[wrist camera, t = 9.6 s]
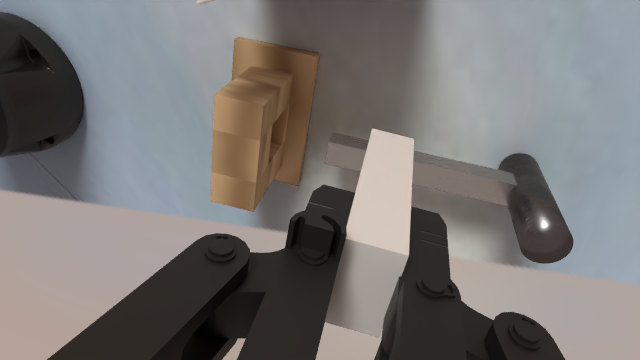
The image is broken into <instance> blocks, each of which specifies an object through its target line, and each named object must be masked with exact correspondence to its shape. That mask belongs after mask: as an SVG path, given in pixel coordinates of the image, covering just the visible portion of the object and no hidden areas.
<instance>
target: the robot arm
mask: <svg viewBox="0 0 640 360" xmlns="http://www.w3.org/2000/svg"><path fill="white" fill-rule="evenodd" d="M82 111H83V99H82V92H81V87H80V84H79V81H78V78H77V75H76V73H75V71H74V69H73V67H72V65H71V63H70V62H69V60H68V58H67V57H66V55H65V54H64V52H63V51H62V50H61V49H60V47H59V46H58V45H57V44H56V43H55V42H54V41H53V40H52V39H51V38H50V37H49V36H48V35H47V34H46V33H45V32H44V31H42V30H41V29H40V28H38V27H37V26H35V25H34V24H32V23H31V22H29V21H27V20H25V19H23V18H21V17H19V16H16V15H13V14H9V13H4V12H0V157H5V156H11V155H18V154H25V153H32V152H38V151H43V150H46V149H49V148H52V147H54V146H55V145H57V144H59V143H61V142H62V141H64V140H66V139H67V138H69V137H70V136H71V135H72V134H73V133H74V132H75V130H76V129H77V127H78V125H79V123H80V120H81V117H82ZM413 154H414V139H412V138H408V137H405V136H401V135H397V134H393V133H389V132H385V131H381V130H377V129H373V128H372V131H371V135H370V138H369V142H368V146H367V150H366V154H365V157H364V161H363V165H362V169H361V172H360V176H359V180H358V184H357V188H356V191H355V193H353V192H350V191H346V190H342V189H338V188H334V187H331V186H327V185H322V186H321V187H319V188H317V189H316V190H314V191H313V193H312V195H311V198H310V200H309V203H308V205H307V207H306V210H305V211H302V212H299V213H297V214H295V215H294V216H293V217H292V218H291V219H290V224H289V229H288V235H287V240H286V246H285V248H284V249H282V250H279V251H276V252H271V253H252V252H250V249H249V248H248V246H247V244H246V243H245V242H244V241H242V240H241V239H239V238H238V237H235V236H232V235H229V234H211V235H206V236H204V237H202V238H200V239H198V240H197V241H195V242H194V243H193V244H192V245H190V246H189V247H188V248H186V249H185V250H184V251H183V252H182V253H180V254H179V255H178V256H177V257H175V258H174V259H173V260H171V261H170V262H169V263H168V264H166V265H165V266H164V267H163V268H161V269H160V270H159V271H158V272H156V273H155V274H154V275H153V276H151V277H150V278H149V279H148V280H146V281H145V282H144V283H143V284H141V285H140V286H139V287H138V288H136V289H135V290H134V291H133V292H131V293H130V294H129V295H128V296H126V297H125V298H124V299H123V300H121V301H120V302H119V303H118V304H116V305H115V306H114V307H113V308H111V309H110V310H109V311H107V312H106V313H105V314H104V315H103V316H101V317H100V318H99V319H97V320H96V321H95V322H94V323H92V324H91V325H90V326H89V327H87V328H86V329H85V330H84V331H82V332H81V333H80V334H79V335H77V336H76V337H75V338H74V339H72V340H71V341H70V342H69V343H68V344H66V345H65V346H64V347H62V348H61V349H60V350H59V351H57V352H56V353H55V354H54V355H52V356H51V357H50V358H48V359H47V360H222V359H223V357H224V356H225V355H226V354H227V353H228V352H229V350H230V349H231V348H232V347H233V345H234V344H235V343H236V341H237V339H238V338H246V340H245V342H244V345H243V347H242V349H241V351H240V354H239V356H238V358H237V360H315V359H316V355H317V351H318V347H319V343H320V339H321V335H322V331H323V327H324V323H325V322H327V323H330V324H334V325H337V326H340V327H344V328H347V329H351V330H354V331H358V332H361V333H365V334H368V335H372V336H375V337H379V336H380V333H381V330H382V327H383V331H382V341H381V343H380V346H379V349H378V351H377V354H376V357H375V359H374V360H565V358H564V357H563V355H562V353H561V352H560V350H559V348H558V346H557V345H556V343H555V341H554V339H553V338H552V337H551V335H550V334H549V333H548V332H547V330H546V329H545V328H543V327H542V326H541V325H540V324H538V323H537V322H536V321H535V320H533V319H531V318H529V317H527V316H525V315H521V314H518V313H514V312H504V313H501V314H499V315H498V316H496V317H495V319H494V320H492V319H490V318H488V317H486V316H484V315H482V314H480V313H478V312H477V311H475V310H473V309H472V308H470V307H468V306H467V305H466V304H465V303H464V302H462V301H461V296H460V293H459V290H458V288H457V286H456V285H455V284H454V283H453V282H452V280H451V279H450V268H449V253H448V240H447V227H446V224H445V223H444V221H443V220H442V218H441V217H440V215H439V214H437V213H434V212H430V211H426V210H422V209H419V208H415V207H411V198H412V176H413Z"/></svg>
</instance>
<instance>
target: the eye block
mask: <svg viewBox="0 0 640 360" xmlns="http://www.w3.org/2000/svg"><path fill="white" fill-rule="evenodd" d="M319 55H320V54H318V53H313V52H309V51H304V50H299V49H294V48H290V47H285V46H280V45H275V44H271V43H266V42H261V41H256V40H251V39H247V38H242V37H238V38H236V39H234V53H233V71H232V81H231V82H230V83H229V84H228V85H226V86H225V87H224V88H222V89H221V90H220V91H219V92H217V93H216V94H215V95H214V117H213V146H212V174H211V201H212V202H216V203H220V204H224V205H228V206H232V207H236V208H240V209H244V210H248V211H252V212H254V210H255V208H256V207H257V205H258V203H259V202H260V200H261V199H262V197H263V195H264V194H265V192H266V190H267V189H268V187H269V186H270V184H271V182H272V181H273V180H276V181H280V182H284V183H289V184H293V185H297V186H298V184H299V182H300V180H301V173H302V167H303V160H304V154H305V147H306V140H307V134H308V127H309V121H310V114H311V108H312V101H313V94H314V88H315V81H316V75H317V68H318V61H319Z"/></svg>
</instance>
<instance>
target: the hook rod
mask: <svg viewBox="0 0 640 360" xmlns="http://www.w3.org/2000/svg"><path fill="white" fill-rule="evenodd" d="M368 142H369V141H368V140H364V139H359V138H355V137H351V136H346V135H342V134H337V133H332V136H331V138H330V140H329V142H328V148H327V153H326V159H325V164H329V165H333V166H337V167H342V168H346V169H350V170H355V171H359V172H361V169H362V165H363V161H364V157H365V154H366V150H367V146H368ZM412 184H414V185H419V186H423V187H427V188H431V189H436V190H440V191H444V192H448V193H453V194H457V195H461V196H465V197H470V198H474V199H478V200H483V201H487V202H491V203H495V204H500V205H504V206H508V208H509V211H510V215H511V218H512V222H513V225H514V228H515V232H516V235H517V238H518V242H519V245H520V249H521V251H522V253H523V255H524V256H525V257H526V258H528V259H529V260H531V261H533V262H537V263H553V262H556V261H559V260H561V259H563V258H564V257H566V256H567V255H568V254H569V253H570V251H571V249H572V247H573V237H572V235H571V233H570V231H569V229H568V227H567V225H566V222H565V220H564V218H563V216H562V214H561V212H560V210H559V208H558V206H557V204H556V201H555V199H554V197H553V195H552V193H551V191H550V189H549V187H548V185H547V182H546V180H545V178H544V176H543V174H542V172H541V170H540V168H539V166H538V164H537V162H536V160H535V159H534V158H533V157H531V156H530V155H527V154H522V153H519V154H513V155H510V156H508V157H507V158H505V159H504V160H503V161H502V162H501V164H500V166H499V169H498V170H496V169H492V168H487V167H483V166H478V165H474V164H470V163H465V162H461V161H456V160H452V159H448V158H443V157H439V156H434V155H430V154H426V153H421V152H417V151H414V154H413V176H412Z"/></svg>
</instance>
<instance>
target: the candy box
mask: <svg viewBox="0 0 640 360" xmlns="http://www.w3.org/2000/svg"><path fill="white" fill-rule="evenodd" d="M210 1H214V0H196V2H197V3H198V4H202V3H206V2H210Z"/></svg>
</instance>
